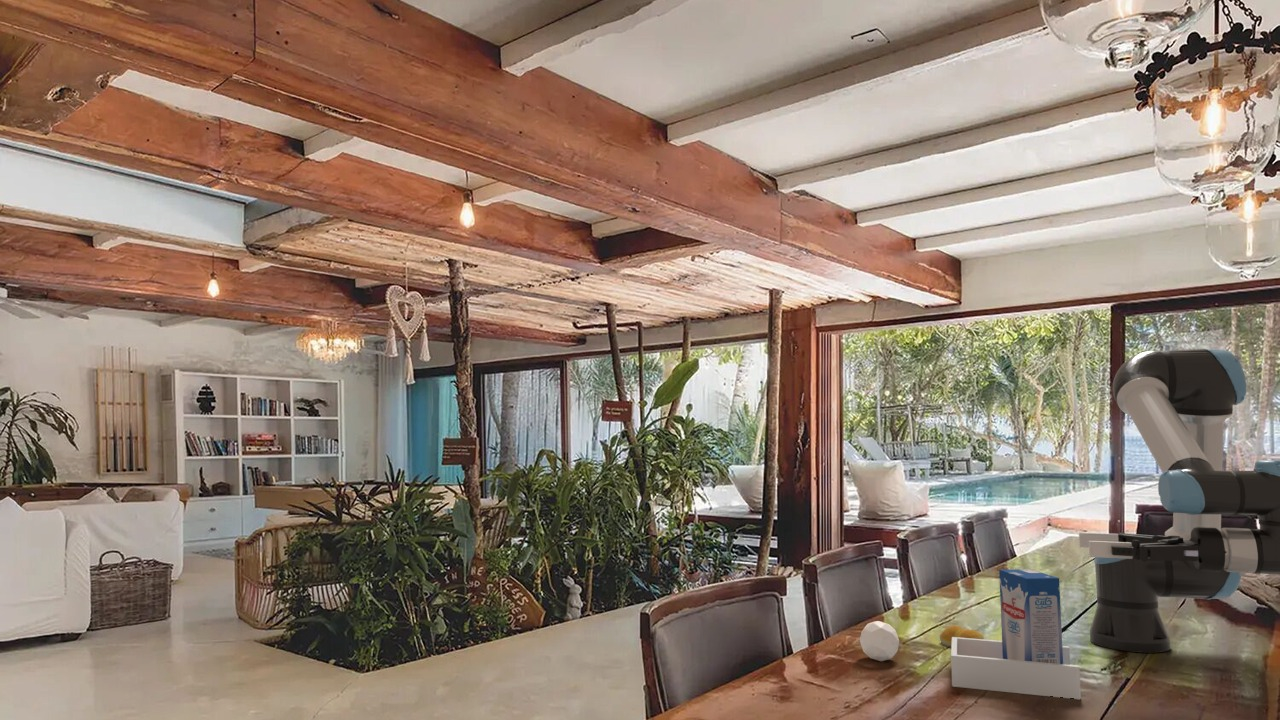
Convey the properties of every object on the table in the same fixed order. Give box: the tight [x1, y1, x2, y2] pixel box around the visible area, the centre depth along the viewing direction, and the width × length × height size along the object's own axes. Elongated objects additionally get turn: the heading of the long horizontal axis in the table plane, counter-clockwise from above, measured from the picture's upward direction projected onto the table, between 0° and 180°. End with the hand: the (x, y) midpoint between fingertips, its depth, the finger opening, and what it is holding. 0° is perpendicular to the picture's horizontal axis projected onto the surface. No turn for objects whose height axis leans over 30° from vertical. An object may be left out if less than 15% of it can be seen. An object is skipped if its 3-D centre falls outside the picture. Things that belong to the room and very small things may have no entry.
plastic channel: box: [950, 637, 1082, 700], centre depth 154 cm, size 21×15×6 cm
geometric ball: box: [859, 620, 900, 662], centre depth 169 cm, size 8×8×8 cm
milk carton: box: [998, 568, 1063, 664], centre depth 153 cm, size 10×6×20 cm, turn 4°
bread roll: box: [939, 625, 985, 648], centre depth 181 cm, size 8×9×4 cm
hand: (1083, 544), depth 151 cm, fingers open, 13 cm apart
